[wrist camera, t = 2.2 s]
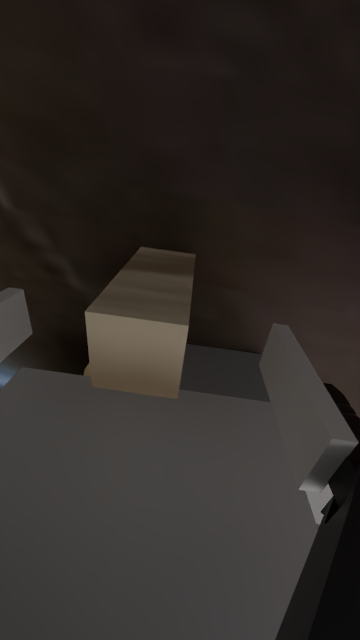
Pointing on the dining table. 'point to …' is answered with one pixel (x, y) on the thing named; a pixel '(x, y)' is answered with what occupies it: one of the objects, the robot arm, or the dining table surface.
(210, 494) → the cabinet
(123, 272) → the block
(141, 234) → the dining table surface
